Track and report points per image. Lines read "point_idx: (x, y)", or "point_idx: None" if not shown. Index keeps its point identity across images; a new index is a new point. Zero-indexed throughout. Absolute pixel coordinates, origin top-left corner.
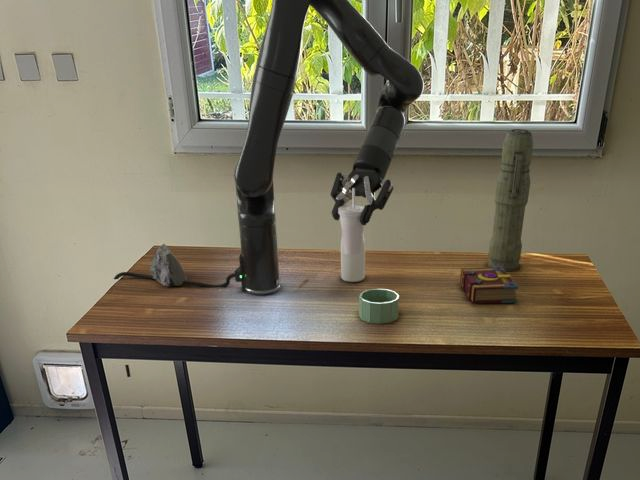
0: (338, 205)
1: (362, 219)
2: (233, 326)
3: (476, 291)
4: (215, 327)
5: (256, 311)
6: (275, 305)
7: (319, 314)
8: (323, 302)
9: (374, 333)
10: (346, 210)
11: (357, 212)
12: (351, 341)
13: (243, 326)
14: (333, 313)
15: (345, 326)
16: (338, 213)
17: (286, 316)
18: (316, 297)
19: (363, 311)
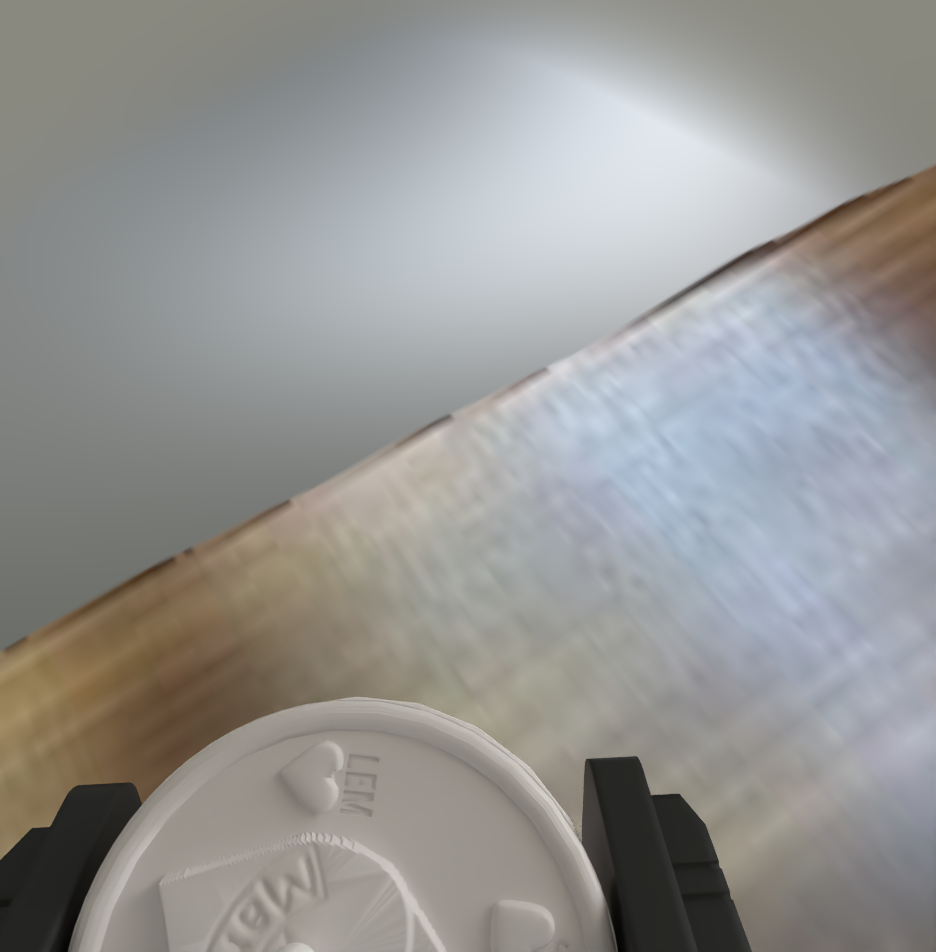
0: (632, 921)
1: (71, 796)
2: (830, 364)
3: None
4: (882, 316)
5: (891, 557)
6: (880, 680)
7: (600, 715)
8: None
9: (212, 668)
10: (368, 797)
11: (136, 815)
12: (268, 526)
13: (795, 387)
14: (545, 774)
15: (388, 658)
16: (521, 761)
17: (722, 591)
18: (789, 937)
19: None
